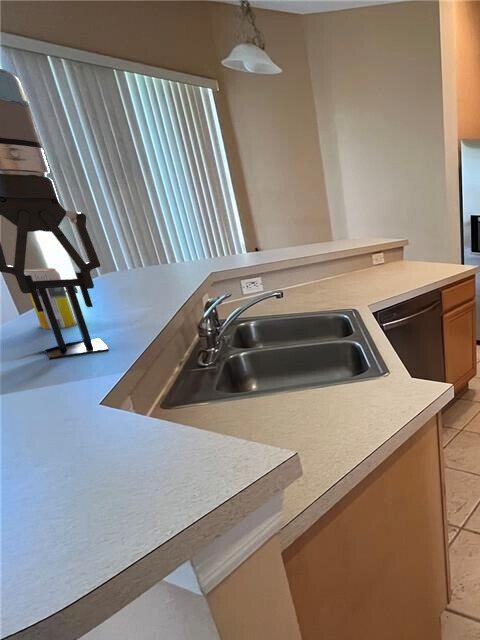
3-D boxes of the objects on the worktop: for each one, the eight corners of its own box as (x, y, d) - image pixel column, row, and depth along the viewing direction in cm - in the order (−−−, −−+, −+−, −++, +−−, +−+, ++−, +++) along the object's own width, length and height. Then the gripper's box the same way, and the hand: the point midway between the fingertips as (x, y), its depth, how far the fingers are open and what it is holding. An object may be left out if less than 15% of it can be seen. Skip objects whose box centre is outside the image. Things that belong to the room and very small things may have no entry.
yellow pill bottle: (77, 328, 112) (57, 267, 107) (78, 332, 108) (57, 270, 103) (43, 331, 108) (21, 269, 103) (43, 336, 104) (20, 271, 99)
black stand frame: (110, 354, 93) (87, 283, 88) (50, 363, 87) (22, 287, 82) (101, 343, 100) (80, 277, 95) (45, 351, 94) (19, 280, 89)
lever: (81, 288, 84) (77, 275, 84) (36, 291, 80) (31, 277, 79) (78, 296, 92) (74, 284, 92) (37, 299, 88) (33, 287, 88)
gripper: (-70, 168, 67) (-9, 318, 75) (97, 178, 80) (133, 305, 88) (-67, 170, 71) (-10, 311, 80) (91, 179, 85) (125, 299, 93)
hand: (65, 308), depth 84 cm, fingers closed on lever, 6 cm apart
